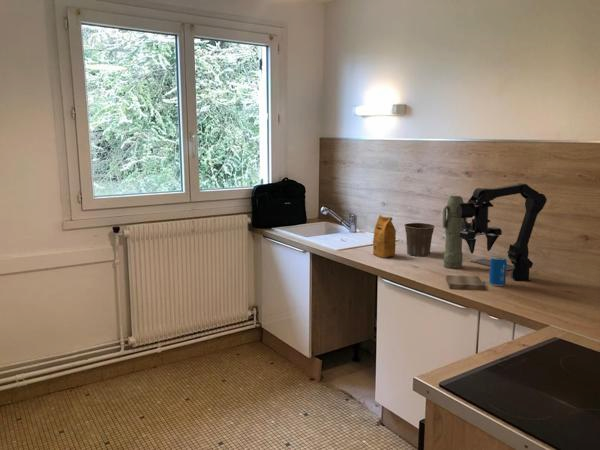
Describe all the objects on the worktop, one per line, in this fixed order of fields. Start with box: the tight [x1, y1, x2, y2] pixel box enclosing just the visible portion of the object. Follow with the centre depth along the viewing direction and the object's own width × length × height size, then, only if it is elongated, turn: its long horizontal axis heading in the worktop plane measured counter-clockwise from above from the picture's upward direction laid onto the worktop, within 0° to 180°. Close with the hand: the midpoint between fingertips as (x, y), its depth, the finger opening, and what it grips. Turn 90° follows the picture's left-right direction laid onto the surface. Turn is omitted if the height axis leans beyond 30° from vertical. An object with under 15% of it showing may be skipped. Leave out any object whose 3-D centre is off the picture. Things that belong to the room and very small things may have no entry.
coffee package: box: [372, 214, 397, 259], centre depth 271 cm, size 10×12×22 cm
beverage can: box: [489, 255, 508, 287], centre depth 216 cm, size 6×6×12 cm
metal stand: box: [445, 274, 485, 291], centre depth 217 cm, size 14×14×2 cm
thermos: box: [442, 195, 468, 270], centre depth 245 cm, size 9×12×35 cm
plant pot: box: [404, 222, 436, 257], centre depth 274 cm, size 16×16×16 cm
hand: (480, 252), depth 220 cm, fingers open, 9 cm apart
